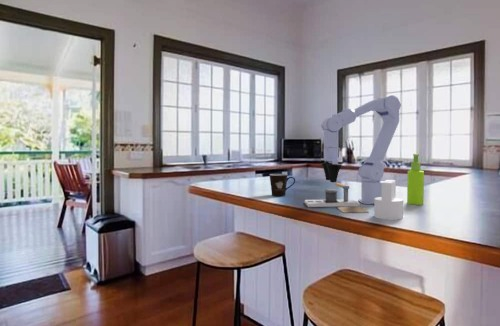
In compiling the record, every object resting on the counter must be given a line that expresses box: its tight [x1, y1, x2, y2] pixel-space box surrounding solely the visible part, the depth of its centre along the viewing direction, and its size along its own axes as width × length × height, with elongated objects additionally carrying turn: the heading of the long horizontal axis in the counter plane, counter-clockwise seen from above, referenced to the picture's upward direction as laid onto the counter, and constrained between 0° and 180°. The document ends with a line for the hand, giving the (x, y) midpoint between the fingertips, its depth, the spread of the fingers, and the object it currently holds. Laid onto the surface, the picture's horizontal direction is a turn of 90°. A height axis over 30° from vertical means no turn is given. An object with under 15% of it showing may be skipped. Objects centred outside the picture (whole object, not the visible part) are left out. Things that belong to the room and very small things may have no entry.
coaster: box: [336, 206, 369, 214], centre depth 124 cm, size 9×9×1 cm
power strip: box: [304, 189, 360, 208], centre depth 136 cm, size 20×9×6 cm, turn 89°
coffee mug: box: [269, 173, 296, 197], centre depth 160 cm, size 12×9×10 cm
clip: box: [334, 182, 350, 190], centre depth 141 cm, size 12×3×1 cm, turn 5°
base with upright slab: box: [373, 179, 404, 221], centre depth 113 cm, size 9×9×12 cm
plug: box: [324, 188, 338, 203], centre depth 136 cm, size 5×5×6 cm
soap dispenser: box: [406, 153, 425, 206], centre depth 135 cm, size 6×7×20 cm
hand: (331, 181), depth 136 cm, fingers open, 7 cm apart
